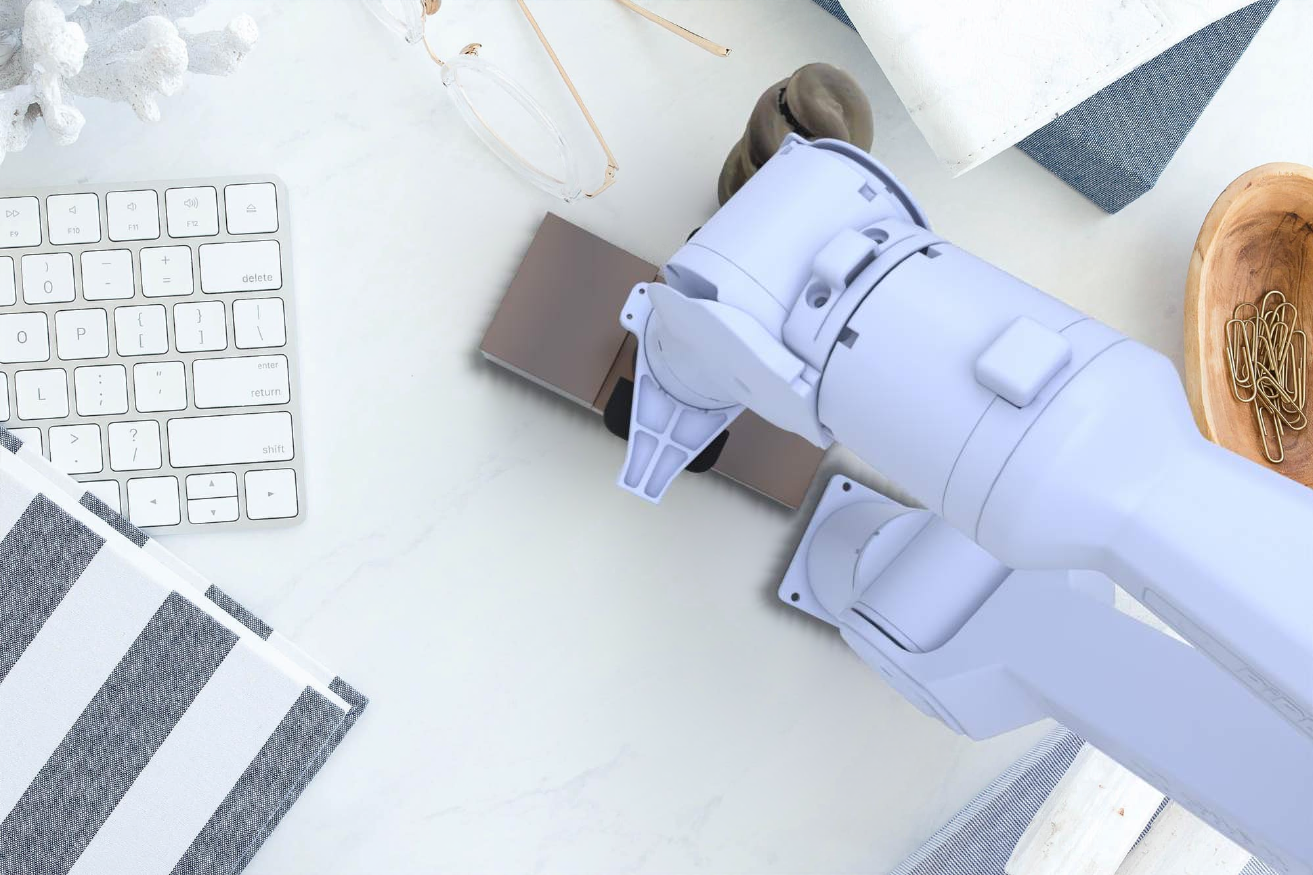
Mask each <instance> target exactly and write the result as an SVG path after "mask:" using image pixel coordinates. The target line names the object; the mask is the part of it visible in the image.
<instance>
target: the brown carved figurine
mask: <svg viewBox="0 0 1313 875" xmlns="http://www.w3.org/2000/svg"><path fill="white" fill-rule="evenodd" d="M874 125H875V124H874V118H873V112H872V108H871V105H870V101H869V99H868V97H867V95H866V93H865V91H864V89H863V88H862V87H861V85H860V84H859V83H858V81H857V80H856V79H855V78H854V77H853V76H852V75H851V74H850V73H849V72H847V71H846V70H845V69H843V68H842V67H839V66H837V65H834V64H831V63H826V62H821V61H820V62H812V63H806V64H805V65H803V66H800V67H798V69H796V70H794V72H793V73H792V75H791V76H789V77H785V78H783V79H782V80H780V81H778V82H776V83H774V84H773V85H770V86H769V87H768V88H767V89H766V90H765V91H764V92H763V93H761V95H760V97H759V98H758V99H757V101H756V103H755V105H754V108H753V110H752V112H751V115H750V117H749V118H748V120H747V123H746V126H745V129H744V133H743V135H742V137H741V138H740V139H739V140H738V141H737V142H736V143H735V145H734V146H733V147H732V148H731V149H730V152H729V153H728V155H727V157H726V158H725V161H724V163H723V165H722V167H721V171H720V174H719V176H718V180H717V199H718V203H719V206H720V209H721V208H722V207H723V206H724V205H725V204H726V203H727V202H728V201H729V200H730V199H731V198H732V197H733V196H734V195H735V194H736V193H737V192H738V191H739V190H740V189H741V188H742V187H743V186H744V185H745V184H746V183H747V182H748V181H749V180H750V179H751V178H752V177H753V176H754V175H755V174H756V173H757V172H758V171H759V170H760V169H761V168H762V167H763V166H764V165H765V164H766V163H767V162H768V161H769V160H770V159H771V158H772V157H773V156H774V155H775V154H776V153H777V152H778V150H779V148H780V146H781V144H782V142H783V140H784V139H785V137H786V136H787V135H788V134H789V133H795V134H797V135H799V136H800V137H802V138H803V139H805V140H807V141H809V142H814V141H816V140H819V139H824V138H829V139H836V140H840V141H843V142H846V143H849V144H851V145H853V146H855V147H857V148H859V149H861V150H863V151H864V152H866V153H868V154H869V155H870V153H871V149H872V146H873V142H874V133H875V126H874Z"/></svg>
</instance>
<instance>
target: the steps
mask: <svg viewBox="0 0 1313 875" xmlns="http://www.w3.org/2000/svg"><path fill="white" fill-rule="evenodd" d="M659 271H660V267H658V266H656V265H654V264H653V263H650V262H648V261H646V260H645V259H643V258H640V257H638V256H637V255H635V254H633V253H631V252H629V251H627V250H625V249H623V248H622V247H619V246H617V245H615V244H613V243H611V242H609V241H608V240H605V239H603V238H601V237H600V236H598V235H596V234H594V233H592V232H590V231H588V230H586V229H584V228H582V227H580V226H578V225H576V224H574V223H572V222H570V221H568V220H566V219H565V218H562V217H561V216H558V215H556V214H554V213H553V212H550V211H547V212H546V214H545V215H544V218H543V219H542V222H541V224H540V226H539V229H537V232H536V234H535V235H534V238H533V239H532V242H531V244H530V246H529V248H528V249H527V251H526V254H525V256H524V258H523V260H522V262H521V264H520V266H519V268H518V269H517V272H516V274H515V276H514V278H513V280H512V282H511V284H510V286H509V288H508V289H507V292H506V294H505V295H504V298H503V300H502V301H501V304H500V305H499V307H498V310H497V312H496V314H495V316H494V317H493V319H492V322H491V324H490V325H489V328H488V330H487V331H486V333H485V335H484V338H483V339H482V340H481V343H480V345H479V347H478V348H479V350H480V353H482V355H483V356H484V358H485V359H486V360H488V361H491V362H493V363H495V364H496V365H499V366H500V367H503V368H505V369H507V370H508V371H511V372H512V373H515V374H517V375H519V376H521V377H523V378H525V379H527V380H529V381H531V382H532V383H535V384H537V385H539V386H541V387H543V388H545V389H547V390H549V391H552V392H553V393H556V394H558V395H559V396H562V397H564V398H566V399H568V400H569V401H572V402H574V403H576V404H578V405H580V406H582V407H584V408H586V409H587V410H590V411H592V412H595V413H596V414H598V415H600V416H602V417H603V412H604V408H605V406H606V404H607V402H608V400H609V398H610V396H611V394H612V392H613V390H614V388H615V385H616V383H617V381H618V379H619V377H620V376H622V377H624V378H626V379H628V380H630V381H632V382H634V378H633V374H632V357H633V353H634V350H635V348H636V345H637V344H638V339H637V336H636V335H635V334H634V333H633V332H631V331H629V330H627V329H625V328H624V327H623V326H622V325H621V322H620V314H621V312H622V310H623V308H624V306H625V303H626V301H627V299H628V297H629V295H630V293H631V291H632V289H633V288H634V287H635V286H636V284H638V283H641V282H645V283H649V284H650V283H653V282H657V283H662V284H665V285H667V283H666V281H665V278H664V276H662V275H660V274H658V273H659ZM639 293H640V294H643V292H641V291H640V292H639ZM627 319H629V320H630V319H631V317H630V316H627ZM725 429H726V430H728V431H729V433H730V434H729V437H728V439H727V441H726V443H725V445H724V447H723V449H722V452H721V454H720V456H719V458H718V460H717V462H716V463H715V465H714V466H713V467H712V468H711V469H710V470H712V471H714V472H717V473H719V474H720V475H723V476H724V477H727V478H728V479H731V480H733V481H735V482H736V483H739V484H741V485H743V486H745V487H747V488H749V489H751V490H753V491H755V492H758V493H759V494H761V495H763V496H765V497H767V498H769V499H771V500H773V501H775V502H778V503H779V504H782V505H783V506H786V507H787V508H790V509H793V510H799V509H800V507H801V505H802V503H803V501H804V498H805V496H806V494H807V492H808V490H809V489H810V486H811V484H812V483H813V482H812V481H813V479H814V477H815V475H816V473H817V471H818V469H819V467H820V464H821V462H822V460H823V458H824V456H825V454H826V452H827V450H828V448H827V449H826V450H824V449H822V448H821V447H816V446H815V445H814V444H812V443H811V442H810V441H808V440H807V439H805V438H804V437H802V436H800V435H799V434H797V433H794V432H790V431H787V430H784V429H782V428H779V427H778V426H776V425H774V424H772V423H770V422H769V421H767V420H765V419H764V418H762V417H761V416H759V415H758V414H757V413H755V412H754V411H752V410H751V409H749V408H748V407H747V408H746V409H745V410H744V411H743V412H741V413H740V414H739V415H738V416H737V417H736V418H735V419H734V420H733V421H732V422H731V423H730V424H729V425H728V426H727V427H726V428H725Z"/></svg>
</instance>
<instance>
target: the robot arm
mask: <svg viewBox="0 0 1313 875" xmlns="http://www.w3.org/2000/svg"><path fill="white" fill-rule="evenodd" d="M662 271H663V272H662V273H663V278H665V281H666V283H667V285H665V284H662V283H657V282H653V283H650V284H649V283H645V282H641V283H638V284H636V286H635V287H634V288H633V289H632V291H631V293H630V295H629V297H628V299H627V301H626V303H625V306H624V308H623V310H622V312H621V314H620V322H621V325H622V326H623V327H624V328H625V329H627V330H629V331H631V332H633V333H634V334H635V335H636V336H637V339H638V352H637V362H636V372H635V382H632V381H630V380H628V379H626V378H624V377H622V376H620V377H619V379H618V381H617V383H616V385H615V388H614V390H613V392H612V394H611V396H610V398H609V400H608V402H607V404H606V406H605V408H604V412H603V416H602V420H603V424H604V426H605V427H606V429H607V430H608V431H609V432H610V433H611V434H613V435H614V436H616V437H617V438H620V439H622V440H624V441H626V442H627V447H626V453H625V458H624V461H623V465H622V466H621V467H620V469H619V471H618V473H617V476H616V478H615V480H614V482H613V485H614V486H615V487H618V488H621V489H622V490H624V491H626V492H628V493H630V494H632V495H634V496H636V497H639V498H640V499H643V500H645V501H647V502H648V503H651V504H653V505H655V506H659V505H660V503H661V501H662V500H663V498H664V496H665V495H666V493H667V491H668V490H669V487H670V486H671V485H672V484H673V482H674V481H675V479H676V478H677V477H678V476H679V475H681V473H682V471H684V470H685V471H687V472H690V473H694V474H701V473H705V472H707V471H709V470H712V469H711V468H712V467H713V466H714V465H715V463H716V462H717V460H718V458H719V456H720V454H721V452H722V449H723V447H724V445H725V443H726V441H727V439H728V437H729V434H730V433H729V431H728V430H726V429H725V428H726V427H727V426H728V425H729V424H730V423H731V422H732V421H733V420H734V419H735V418H736V417H737V416H738V415H739V414H740V413H741V412H743V411H744V410H745V409H746V408H747V407H748V408H749V409H751V410H752V411H754V412H755V413H757V414H758V415H759V416H761V417H762V418H764V419H765V420H767V421H769V422H770V423H772V424H774V425H776V426H778V427H779V428H782V429H784V430H787V431H790V432H794V433H797V434H799V435H800V436H802V437H804V438H805V439H807V440H808V441H810V442H811V443H812V444H814V445H815V446H816V447H821V448H822V449H824V450H826V449H827V450H828V448H829V447H830V446H831V445H832V444H833V443H834V442H838V443H839V444H840V445H842V446H843V447H844V448H846V449H847V450H849V451H850V452H851V453H852V454H854V455H855V456H857V457H858V458H859V459H860V460H862V461H863V462H865V463H866V464H867V465H868V466H870V467H872V468H873V469H874V470H875V471H877V472H878V473H880V474H881V475H882V476H884V477H885V478H887V480H889V481H891V482H892V483H893V484H894V485H896V486H897V487H899V489H901V490H903V491H904V492H905V493H907V494H908V495H910V496H911V497H912V498H913V499H914V500H916V501H917V502H919V503H920V504H922V505H923V506H925V507H926V509H924V508H917V507H909V506H905V505H903V504H901V503H900V502H897V501H895V500H893V499H891V498H890V497H887V496H885V495H883V494H881V493H879V492H877V491H876V490H873V489H872V488H869V487H867V486H865V485H864V484H861V483H860V482H857V481H855V480H853V479H851V478H850V477H847V476H845V475H843V474H839V473H838V474H833V475H832V476H831V477H830V478H829V481H828V482H827V485H826V487H825V489H824V491H823V493H822V496H821V498H820V500H819V502H818V504H817V506H816V508H815V510H814V513H813V515H812V517H811V519H810V521H809V524H808V526H807V527H806V530H805V532H804V533H803V536H802V538H801V540H800V542H799V545H798V547H797V549H796V551H795V553H794V554H793V555H794V556H793V558H792V560H791V562H790V564H789V566H788V569H787V570H786V572H785V575H784V577H783V579H782V581H781V583H780V585H779V588H778V590H777V596H778V598H779V599H780V600H781V601H782V602H784V603H786V604H788V605H790V606H792V607H795V608H796V609H798V610H801V611H803V612H805V613H807V614H809V615H811V616H814V617H815V618H818V619H820V620H822V621H824V622H825V623H828V624H830V625H832V626H834V627H836V628H838V629H839V634H840V636H841V638H842V639H843V640H844V641H845V643H846V644H847V645H848V646H849V647H850V648H851V649H852V650H853V652H854V653H856V655H857V656H858V657H859V658H861V660H862V661H863V662H864V663H866V665H868V667H870V668H871V669H872V670H873V671H874V672H875V673H876V674H877V675H878V676H879V677H880V678H881V679H882V680H883V681H884V682H886V683H887V685H889V686H890V687H891V688H892V689H893V690H894V691H896V692H897V693H898V694H899V695H900V696H901V697H902V698H903V699H905V700H906V701H907V702H908V703H910V704H911V705H912V706H913V707H915V708H916V709H917V710H918V711H920V712H921V713H922V714H924V715H925V716H927V717H929V718H934V719H935V720H937V721H939V722H940V723H942V725H944V726H946V727H947V728H949V729H950V730H951V731H952V732H954V733H955V734H956V735H958V736H959V735H960V736H964V735H966V737H969V738H970V739H971V740H972V741H974V742H981V741H986V740H989V739H992V738H996V737H998V736H1001V735H1003V734H1006V733H1009V732H1011V731H1016V730H1018V729H1020V728H1023V727H1027V726H1029V725H1032V724H1034V723H1038V722H1040V721H1044V720H1046V719H1050V718H1051V719H1052V720H1054V721H1055V722H1057V724H1060V725H1061V726H1063V727H1064V728H1066V730H1068V731H1070V732H1071V733H1073V734H1075V735H1076V736H1077V737H1079V738H1080V739H1081V740H1083V741H1085V742H1086V743H1087V744H1089V745H1090V746H1092V747H1094V748H1095V749H1097V750H1098V751H1099V752H1101V753H1102V754H1104V755H1105V756H1107V757H1108V758H1109V759H1112V760H1113V762H1115V763H1117V764H1118V765H1119V766H1121V767H1122V768H1125V769H1126V770H1127V771H1129V773H1131V774H1133V775H1134V776H1136V777H1137V778H1139V779H1140V780H1141V781H1143V782H1145V783H1146V784H1147V785H1149V786H1151V787H1152V788H1154V789H1155V790H1156V791H1158V792H1159V793H1161V794H1162V795H1163V796H1165V797H1167V798H1168V799H1170V800H1171V801H1172V802H1174V803H1175V804H1177V805H1178V806H1180V807H1181V808H1183V809H1184V810H1185V811H1187V812H1188V813H1190V814H1192V815H1193V816H1194V817H1196V818H1197V819H1198V820H1200V821H1202V822H1203V823H1205V824H1206V825H1208V827H1211V829H1213V830H1215V831H1216V832H1218V833H1219V834H1221V835H1222V836H1224V837H1225V838H1227V839H1228V840H1230V841H1231V842H1232V843H1234V844H1235V845H1237V846H1239V847H1240V848H1241V849H1243V850H1244V851H1246V852H1247V853H1248V854H1250V855H1252V857H1254V858H1256V859H1257V860H1259V861H1260V862H1262V863H1263V864H1264V865H1266V866H1267V867H1269V868H1271V869H1272V870H1274V871H1275V872H1276V873H1278V874H1279V875H1313V488H1311V487H1308V486H1306V485H1304V484H1302V483H1301V482H1298V481H1296V480H1294V479H1292V478H1289V477H1287V476H1286V475H1283V474H1280V473H1278V472H1277V471H1274V470H1272V469H1270V468H1268V467H1266V466H1263V465H1261V464H1259V463H1258V462H1255V461H1253V460H1251V459H1249V458H1247V457H1245V456H1243V455H1240V454H1238V453H1236V452H1234V451H1232V450H1230V449H1228V448H1225V447H1223V446H1221V445H1219V444H1217V443H1215V442H1213V441H1210V440H1209V439H1207V438H1205V437H1204V436H1203V435H1202V433H1201V431H1200V430H1199V427H1198V425H1197V423H1196V420H1195V417H1194V415H1193V412H1192V409H1191V406H1190V403H1189V400H1188V397H1187V395H1186V391H1185V388H1184V385H1183V383H1182V379H1181V377H1180V374H1179V372H1178V370H1177V367H1176V366H1175V364H1174V363H1173V361H1172V360H1171V359H1170V358H1169V357H1168V356H1167V355H1165V354H1163V353H1162V352H1160V351H1157V350H1156V349H1154V348H1152V347H1150V346H1148V345H1146V344H1144V343H1143V342H1140V341H1138V340H1135V338H1133V337H1131V336H1129V335H1127V334H1126V333H1123V332H1121V331H1119V330H1118V329H1116V328H1114V327H1112V326H1111V325H1108V324H1106V323H1104V322H1102V321H1101V320H1099V319H1097V318H1094V317H1092V316H1091V315H1089V314H1087V313H1085V312H1083V311H1081V310H1079V309H1077V308H1075V307H1073V306H1072V305H1069V304H1068V303H1066V302H1064V301H1063V300H1061V299H1058V298H1057V297H1055V296H1053V295H1051V294H1048V293H1047V292H1045V291H1044V290H1041V289H1039V288H1038V287H1035V286H1033V285H1032V284H1030V283H1028V282H1026V281H1024V280H1022V279H1020V278H1019V277H1016V276H1015V275H1013V274H1011V273H1009V272H1007V271H1006V270H1003V269H1002V268H1000V267H998V266H996V265H994V264H992V263H990V262H988V261H987V260H984V259H982V258H980V257H979V256H976V255H975V254H973V253H971V252H970V251H967V250H965V249H964V248H961V247H959V246H957V245H956V244H954V243H953V242H950V241H949V240H947V239H946V238H943V237H941V236H939V235H937V234H935V233H934V232H933V228H932V226H931V223H930V221H929V218H928V217H927V215H926V213H925V211H924V209H923V208H922V207H921V205H920V204H919V202H918V200H917V199H916V198H915V196H914V195H913V193H912V192H911V191H910V190H909V189H908V187H906V185H905V184H904V183H903V182H902V181H900V180H899V179H898V178H897V176H896V174H894V173H893V172H892V171H891V170H890V169H889V168H888V167H887V166H885V165H884V164H883V163H882V162H880V161H879V160H878V159H877V158H875V157H873V155H872V154H870V153H869V154H868V153H866V152H864V151H863V150H861V149H859V148H857V147H855V146H853V145H851V144H849V143H846V142H843V141H840V140H836V139H829V138H824V139H819V140H816V141H814V142H809V141H807V140H805V139H803V138H802V137H800V136H799V135H797V134H795V133H789V134H788V135H787V136H786V137H785V139H784V140H783V142H782V144H781V146H780V148H779V150H778V152H777V153H776V154H775V155H774V156H773V157H772V158H771V159H770V160H769V161H768V162H767V163H766V164H765V165H764V166H763V167H762V168H761V169H760V170H759V171H758V172H757V173H756V174H755V175H754V176H753V177H752V178H751V179H750V180H749V181H748V182H747V183H746V184H745V185H744V186H743V187H742V188H741V189H740V190H739V191H738V192H737V193H736V194H735V195H734V196H733V197H732V198H731V199H730V200H729V201H728V202H727V203H726V204H725V205H724V206H723V207H722V208H721V207H720V208H719V209H718V210H717V212H715V214H714V215H713V216H711V218H709V219H708V220H707V222H706V223H705V224H704V225H702V226H699V227H697V228H695V229H694V230H693V231H692V232H690V234H689V235H688V237H687V239H686V240H685V243H684V244H683V245H682V247H680V248H679V250H677V252H676V253H674V254H673V255H672V257H670V259H668V260H667V262H665V264H664V265H663V268H662ZM640 291H641V292H643V294H640V293H639V292H640ZM627 316H630V317H631V319H630V320H629V319H627ZM827 450H826V451H827ZM846 483H847V484H848V486H849V487H848V489H847V490H844V485H845V484H846ZM1116 585H1117V586H1118V587H1119V588H1120V589H1122V590H1123V591H1124V592H1126V593H1127V594H1128V595H1129V596H1130V597H1132V598H1133V599H1134V600H1136V602H1138V603H1139V604H1140V605H1141V606H1143V607H1144V608H1145V609H1147V610H1148V611H1149V612H1150V613H1152V615H1154V617H1156V618H1157V619H1159V620H1160V621H1161V622H1162V623H1163V624H1164V625H1166V626H1167V627H1169V628H1170V629H1171V630H1172V631H1173V632H1174V633H1176V634H1177V635H1178V636H1179V637H1181V638H1182V639H1183V640H1184V641H1186V642H1187V643H1188V644H1187V643H1185V642H1183V641H1181V640H1180V639H1176V638H1175V637H1173V636H1171V635H1169V634H1167V633H1165V632H1163V631H1161V630H1159V629H1157V628H1155V627H1153V626H1151V625H1149V624H1147V623H1145V622H1143V621H1141V620H1139V619H1138V618H1135V617H1133V616H1131V615H1129V614H1127V613H1125V612H1123V611H1121V610H1119V609H1117V608H1115V606H1116ZM794 594H797V596H798V597H797V599H796V600H793V599H792V595H794Z"/></svg>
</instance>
